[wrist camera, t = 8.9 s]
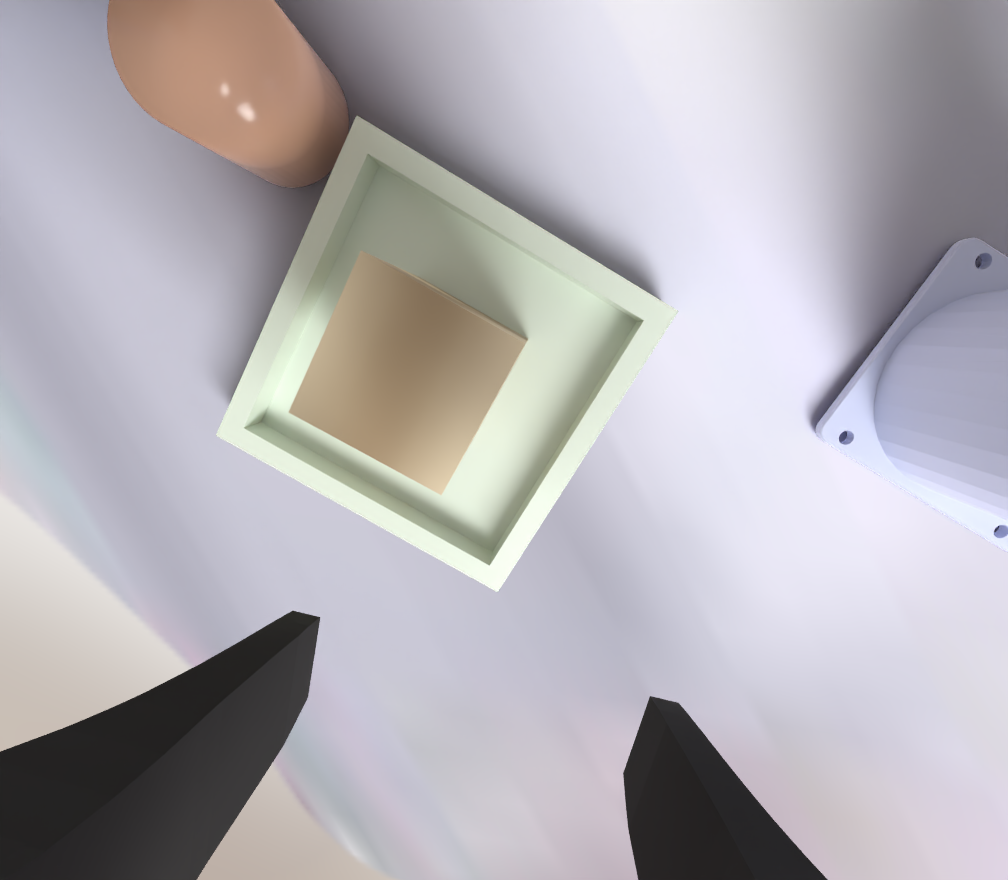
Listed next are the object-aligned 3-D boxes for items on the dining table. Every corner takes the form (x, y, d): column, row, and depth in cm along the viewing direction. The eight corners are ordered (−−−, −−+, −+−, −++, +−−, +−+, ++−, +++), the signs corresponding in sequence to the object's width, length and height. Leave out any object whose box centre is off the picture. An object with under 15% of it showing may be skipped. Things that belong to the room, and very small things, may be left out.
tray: (664, 313, 18) (678, 311, 16) (500, 569, 20) (497, 592, 19) (374, 137, 17) (356, 114, 15) (244, 426, 20) (215, 435, 18)
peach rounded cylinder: (370, 91, 17) (303, -5, 12) (317, 211, 18) (236, 167, 13) (256, 21, 17) (141, -106, 12) (209, 147, 18) (84, 77, 13)
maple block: (528, 339, 18) (525, 343, 12) (470, 443, 19) (441, 495, 13) (419, 276, 18) (361, 250, 12) (366, 386, 19) (288, 412, 13)
